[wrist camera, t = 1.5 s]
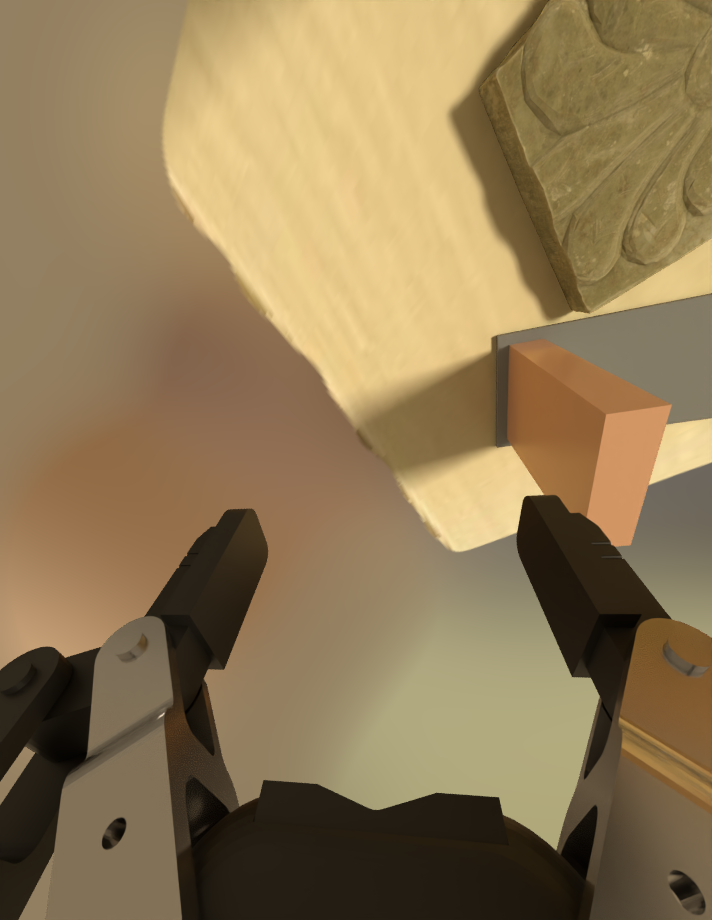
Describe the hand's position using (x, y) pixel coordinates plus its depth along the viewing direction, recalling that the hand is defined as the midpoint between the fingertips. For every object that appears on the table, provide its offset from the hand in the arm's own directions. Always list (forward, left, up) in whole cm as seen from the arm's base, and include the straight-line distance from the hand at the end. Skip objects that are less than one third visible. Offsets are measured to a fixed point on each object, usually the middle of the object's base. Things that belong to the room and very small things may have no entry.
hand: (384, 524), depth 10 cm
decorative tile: (-8, +23, -26) cm, 36 cm away
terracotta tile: (+10, +11, -25) cm, 29 cm away
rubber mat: (+11, +19, -26) cm, 34 cm away
